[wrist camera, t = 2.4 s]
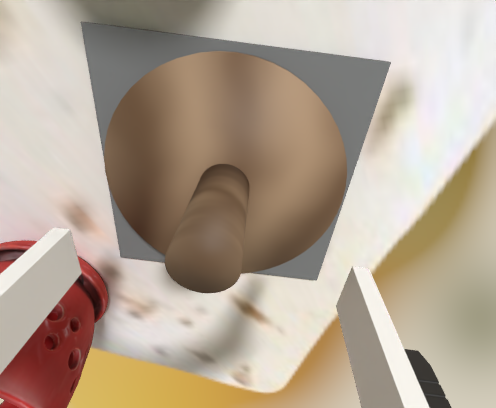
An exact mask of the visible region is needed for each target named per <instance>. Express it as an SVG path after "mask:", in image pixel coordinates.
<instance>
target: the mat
mask: <svg viewBox="0 0 496 408" xmlns="http://www.w3.org/2000/svg"><path fill="white" fill-rule="evenodd" d="M81 26H82V32H83V38H84V44H85V50H86V56H87V61H88V67H89V73H90V79H91V85H92V91H93V97H94V103H95V109H96V114H97V120H98V126H99V132H100V138H101V144H102V150H103V156H104V150H105V140H106V135H107V130H108V126H109V124H110V121H111V118H112V116H113V113H114V111H115V110H116V108H117V106H118V104H119V103H120V101H121V99H122V98H123V97H124V95H125V94H126V93H127V92H128V91H129V89H130V88H131V87H132V86H133V85H134V84H135V83H136V82H137V81H139V80H140V79H141V78H142V77H143V76H144V75H146V74H147V73H149V72H150V71H152V70H153V69H155V68H157V67H158V66H160V65H162V64H165V63H167V62H169V61H172V60H174V59H176V58H180V57H184V56H188V55H191V54H195V53H200V52H211V51H229V52H239V53H244V54H249V55H254V56H257V57H260V58H262V59H265V60H268V61H271V62H273V63H275V64H277V65H279V66H281V67H282V68H284V69H286V70H288V71H290V72H291V73H292V74H294V75H295V76H296V77H298V78H299V79H300V80H302V81H303V82H304V83H305V84H306V85H307V86H308V87H309V88H310V89H311V90H312V91H313V92H314V93H315V94H316V95H317V96H318V97H319V98H320V100H321V101H322V102H323V104H324V105H325V106H326V108H327V109H328V110H329V112H330V113H331V115H332V117H333V119H334V121H335V123H336V125H337V127H338V129H339V132H340V135H341V137H342V140H343V143H344V148H345V153H346V159H347V179H346V188H345V192H344V196H343V200H342V203H341V205H340V208H339V210H338V213H337V215H336V217H335V218H334V220H333V222H332V223H331V225H330V227H329V228H328V229H327V230H326V232H325V233H324V234H323V235H322V237H321V238H320V239H319V240H318V241H317V242H316V243H315V244H314V245H312V246H311V247H310V248H309V249H307V250H306V251H305V252H303V253H302V254H300V255H299V256H297V257H295V258H294V259H292V260H290V261H288V262H286V263H283V264H281V265H279V266H276V267H273V268H270V269H266V270H262V271H257V272H250V273H259V274H267V275H276V276H284V277H292V278H301V279H309V280H317V278H318V275H319V272H320V269H321V266H322V263H323V261H324V258H325V255H326V252H327V249H328V246H329V243H330V240H331V237H332V234H333V231H334V228H335V225H336V222H337V219H338V216H339V214H340V211H341V208H342V205H343V202H344V199H345V196H346V193H347V190H348V187H349V184H350V181H351V178H352V175H353V172H354V169H355V166H356V164H357V161H358V158H359V155H360V152H361V149H362V146H363V143H364V140H365V137H366V134H367V131H368V128H369V125H370V122H371V119H372V117H373V114H374V111H375V108H376V105H377V102H378V99H379V96H380V93H381V90H382V87H383V84H384V81H385V78H386V75H387V72H388V70H389V67H390V64H391V62H387V61H380V60H372V59H364V58H357V57H349V56H341V55H334V54H326V53H318V52H311V51H303V50H295V49H288V48H280V47H272V46H265V45H257V44H249V43H242V42H234V41H226V40H219V39H211V38H204V37H196V36H188V35H181V34H173V33H165V32H158V31H150V30H142V29H135V28H127V27H119V26H112V25H104V24H96V23H89V22H81ZM109 191H110V197H111V203H112V209H113V215H114V220H115V226H116V232H117V238H118V244H119V250H120V256H121V257H125V258H133V259H142V260H150V261H158V262H165V256H166V255H165V254H163V253H161V252H160V251H158V250H157V249H155V248H154V247H153V246H151V245H150V244H149V243H147V242H146V241H145V240H144V239H143V238H142V237H141V236H140V235H139V234H138V233H137V232H136V231H135V230H134V229H133V228H132V227H131V225H130V224H129V223H128V222H127V220H126V219H125V217H124V216H123V215H122V213H121V212H120V210H119V208H118V206H117V204H116V202H115V200H114V198H113V196H112V193H111V190H110V188H109Z"/></svg>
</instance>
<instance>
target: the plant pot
mask: <svg viewBox="0 0 496 408" xmlns="http://www.w3.org/2000/svg"><path fill="white" fill-rule="evenodd" d="M36 242H38V241H11V242H5V243H1V244H0V274H1V273H2V272H3V271H4V270H6V269H7V268H8V267H9V266H10V265H11V264H12V263H14V262H15V261H16V260H17V259H18V258H19V257H20V256H22V255H23V254H24V253H25V252H26V251H27V250H28V249H30V248H31V247H32V246H33V245H34V244H35V243H36ZM77 257H78V256H77ZM78 260H79V264H80V268H81V272H82V273H81V275H80V276H79V277H78V278H77V280H76V281H75V282H74V283H73V285H72V286H71V287H70V288H69V290H68V291H67V292H66V293H65V295H64V296H63V297H62V298H61V300H60V301H59V302H58V303H57V304H56V306H55V307H54V308H53V309H52V311H51V312H50V313H49V314H48V316H47V317H46V318H45V319H44V321H43V322H42V323H41V324H40V326H39V327H38V328H37V329H36V331H35V332H34V333H33V334H32V336H31V337H30V338H29V339H28V341H27V342H26V343H25V344H24V346H23V347H22V348H21V349H20V351H19V352H18V353H17V354H16V356H15V357H14V358H13V359H12V361H11V362H10V363H9V364H8V366H7V367H6V368H5V369H4V371H3V372H2V373H1V374H0V398H1V399H4V401H3V403H1V404H0V408H67V406H68V404H69V402H70V400H71V398H72V396H73V393H74V391H75V389H76V387H77V385H78V382H79V379H80V377H81V373H82V370H83V367H84V364H85V361H86V358H87V355H88V353H89V350H90V347H91V344H92V339H93V333H94V323H95V322H97V321H98V320H99V319H100V318H101V317H102V316H103V314H104V312H105V310H106V307H107V302H108V295H107V290H106V287H105V285H104V282H103V280H102V279H101V277H100V276H99V275H98V273H97V272H96V271H95V270H94V269H93V268H92V267H91V266H90V265H89V264H88V263H87V262H85V261H84V260H83V259H81V258H80V257H78Z"/></svg>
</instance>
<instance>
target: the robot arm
mask: <svg viewBox="0 0 496 408" xmlns="http://www.w3.org/2000/svg"><path fill="white" fill-rule="evenodd" d="M81 273H82V272H81V268H80V264H79V260H78V257H77V253H76V249H75V245H74V242H73V238H72V234H71V230H70V229H62V228H53V229H51V230H50V231H49V232H48V233H47V234H46V235H45V236H43V237H42V238H41V239H40V240H39V241H38V242H36V243H35V244H34V245H33V246H32V247H31V248H30V249H28V250H27V251H26V252H25V253H24V254H23V255H22V256H20V257H19V258H18V259H17V260H16V261H15V262H14V263H12V264H11V265H10V266H9V267H8V268H7V269H6V270H4V271H3V272H2V273H1V274H0V374H1V373H2V372H3V371H4V369H5V368H6V367H7V366H8V364H9V363H10V362H11V361H12V359H13V358H14V357H15V356H16V354H17V353H18V352H19V351H20V349H21V348H22V347H23V346H24V344H25V343H26V342H27V341H28V339H29V338H30V337H31V336H32V334H33V333H34V332H35V331H36V329H37V328H38V327H39V326H40V324H41V323H42V322H43V321H44V319H45V318H46V317H47V316H48V314H49V313H50V312H51V311H52V309H53V308H54V307H55V306H56V304H57V303H58V302H59V301H60V300H61V298H62V297H63V296H64V295H65V293H66V292H67V291H68V290H69V288H70V287H71V286H72V285H73V283H74V282H75V281H76V280H77V278H78V277H79V276H80V275H81ZM336 308H337V312H338V316H339V320H340V323H341V328H342V332H343V336H344V339H345V343H346V347H347V351H348V355H349V359H350V363H351V367H352V371H353V375H354V379H355V383H356V387H357V391H358V395H359V399H360V403H361V407H362V408H451V406H450V404H449V402H448V400H447V399H446V398H445V394H444V392H443V390H442V388H441V386H440V385H439V382H438V379H437V377H436V375H435V373H434V371H433V369H432V367H431V366H430V364H429V363H428V362H427V361H426V360H425V358H424V357H423V356H422V355H421V354H420V352H419V351H415V350H407V349H404V348H403V346H402V344H401V341H400V339H399V336H398V334H397V332H396V330H395V328H394V325H393V323H392V320H391V318H390V316H389V314H388V311H387V309H386V307H385V304H384V302H383V300H382V298H381V295H380V293H379V291H378V288H377V286H376V284H375V282H374V279H373V277H372V275H371V272H370V270H369V268H362V267H354V266H352V268H351V271H350V273H349V276H348V278H347V281H346V283H345V285H344V288H343V290H342V293H341V295H340V298H339V300H338V302H337V305H336Z"/></svg>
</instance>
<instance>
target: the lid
mask: <svg viewBox="0 0 496 408" xmlns="http://www.w3.org/2000/svg"><path fill="white" fill-rule="evenodd" d="M104 162H105V172H106V176H107V180H108V185H109V188H110V190H111V193H112V196H113V198H114V200H115V202H116V204H117V206H118V208H119V210H120V212H121V213H122V215H123V216H124V217H125V219H126V220H127V222H128V223H129V224H130V225H131V227H132V228H133V229H134V230H135V231H136V232H137V233H138V234H139V235H140V236H141V237H142V238H143V239H144V240H145V241H146V242H147V243H149V244H150V245H151V246H153V247H154V248H155V249H157V250H158V251H160V252H161V253H163V254H165V255H166V256H165V266H166V269H167V271H168V273H169V275H170V276H171V277H172V279H173V280H174V281H176V282H177V283H178V284H179V285H181V286H183V287H184V288H187V289H189V290H192V291H195V292H200V293H216V292H221V291H224V290H226V289H228V288H230V287H231V286H233V285H234V284H235V283H236V282H237V280H238V279H239V277H240V274H241V273H250V272H257V271H262V270H266V269H270V268H273V267H276V266H279V265H281V264H283V263H286V262H288V261H290V260H292V259H294V258H295V257H297V256H299V255H300V254H302V253H303V252H305V251H306V250H307V249H309V248H310V247H311V246H312V245H314V244H315V243H316V242H317V241H318V240H319V239H320V238H321V237H322V235H323V234H324V233H325V232H326V230H327V229H328V228H329V227H330V225H331V223H332V222H333V220H334V218H335V217H336V215H337V213H338V210H339V208H340V205H341V203H342V200H343V196H344V192H345V188H346V179H347V159H346V153H345V148H344V143H343V140H342V137H341V135H340V132H339V129H338V127H337V125H336V123H335V121H334V119H333V117H332V115H331V113H330V112H329V110H328V109H327V108H326V106H325V105H324V104H323V102H322V101H321V100H320V98H319V97H318V96H317V95H316V94H315V93H314V92H313V91H312V90H311V89H310V88H309V87H308V86H307V85H306V84H305V83H304V82H303V81H302V80H300V79H299V78H298V77H296V76H295V75H294V74H292V73H291V72H290V71H288V70H286V69H284V68H282V67H281V66H279V65H277V64H275V63H273V62H271V61H268V60H265V59H262V58H260V57H257V56H254V55H249V54H244V53H239V52H229V51H211V52H200V53H195V54H191V55H188V56H184V57H180V58H176V59H174V60H172V61H169V62H167V63H165V64H162V65H160V66H158V67H157V68H155V69H153V70H152V71H150V72H149V73H147V74H146V75H144V76H143V77H142V78H141V79H140V80H139V81H137V82H136V83H135V84H134V85H133V86H132V87H131V88H130V89H129V91H128V92H127V93H126V94H125V95H124V97H123V98H122V99H121V101H120V103H119V104H118V106H117V108H116V110H115V111H114V113H113V116H112V118H111V121H110V124H109V126H108V130H107V135H106V140H105V150H104Z"/></svg>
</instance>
